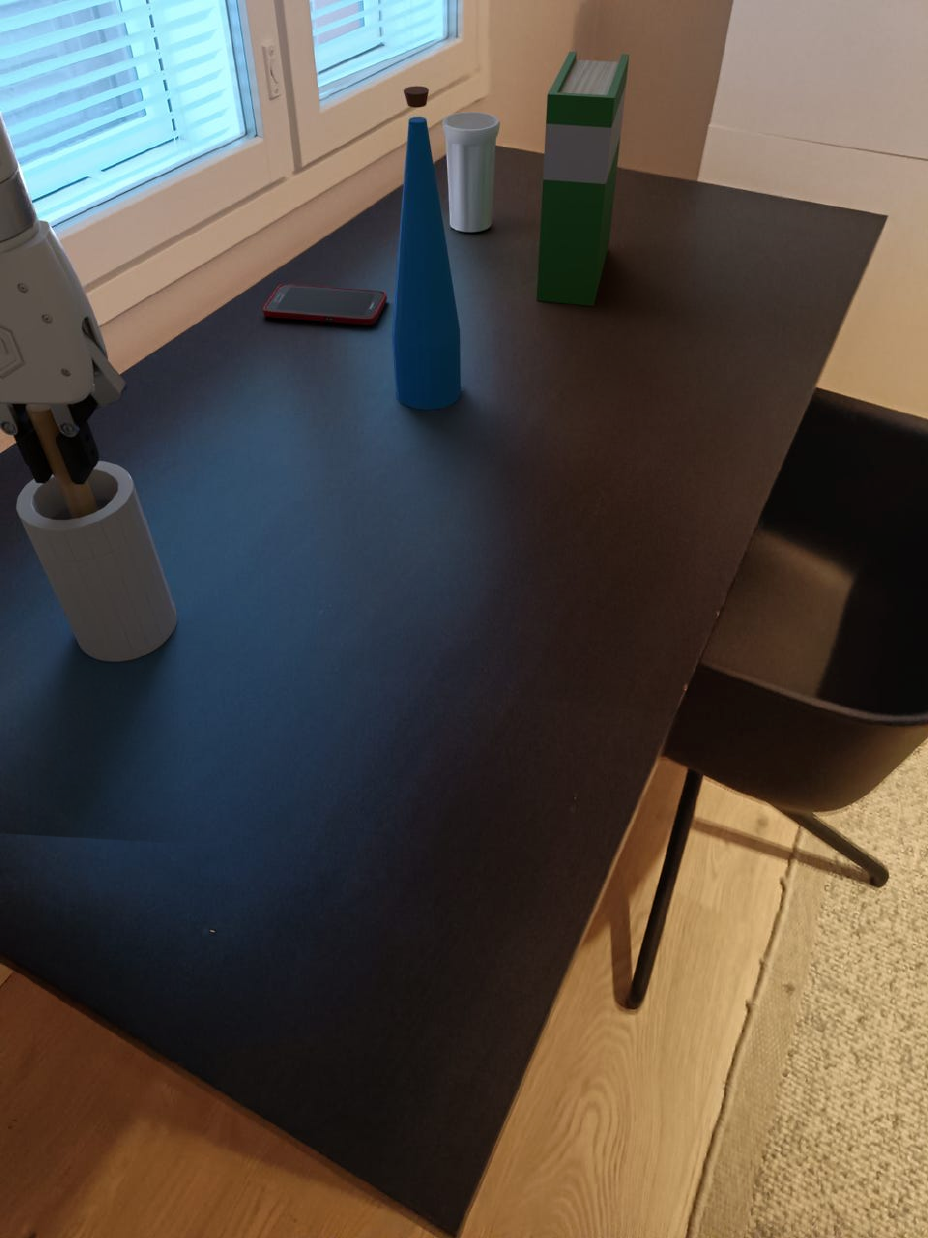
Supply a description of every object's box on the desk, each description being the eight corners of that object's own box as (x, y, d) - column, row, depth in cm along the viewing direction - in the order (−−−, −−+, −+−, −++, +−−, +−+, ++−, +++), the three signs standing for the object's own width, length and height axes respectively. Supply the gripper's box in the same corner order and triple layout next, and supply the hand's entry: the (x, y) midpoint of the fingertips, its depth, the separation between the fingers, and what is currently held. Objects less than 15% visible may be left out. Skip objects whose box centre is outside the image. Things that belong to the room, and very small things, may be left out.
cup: (487, 240, 129) (488, 133, 119) (435, 232, 131) (432, 126, 121) (505, 219, 135) (508, 114, 124) (455, 212, 137) (453, 108, 126)
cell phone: (280, 290, 118) (279, 282, 118) (388, 298, 117) (388, 291, 116) (261, 317, 113) (260, 310, 112) (374, 327, 111) (373, 319, 111)
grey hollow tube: (62, 659, 73) (-4, 527, 63) (97, 590, 79) (42, 458, 69) (160, 664, 73) (110, 531, 63) (188, 594, 78) (147, 462, 68)
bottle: (384, 387, 102) (360, 87, 80) (438, 368, 105) (430, 73, 83) (418, 417, 98) (403, 109, 76) (473, 396, 100) (474, 94, 78)
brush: (81, 593, 70) (3, 418, 59) (96, 562, 73) (26, 389, 62) (125, 594, 70) (56, 420, 59) (140, 564, 73) (76, 390, 61)
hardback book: (556, 244, 128) (569, 51, 111) (608, 248, 127) (629, 54, 110) (536, 300, 116) (547, 93, 99) (593, 305, 115) (614, 97, 98)
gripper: (-210, 234, 49) (-64, 501, 62) (73, 238, 48) (160, 508, 61) (-137, 183, 54) (-16, 439, 67) (120, 186, 53) (191, 445, 66)
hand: (67, 470), depth 64 cm, fingers closed on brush, 2 cm apart
